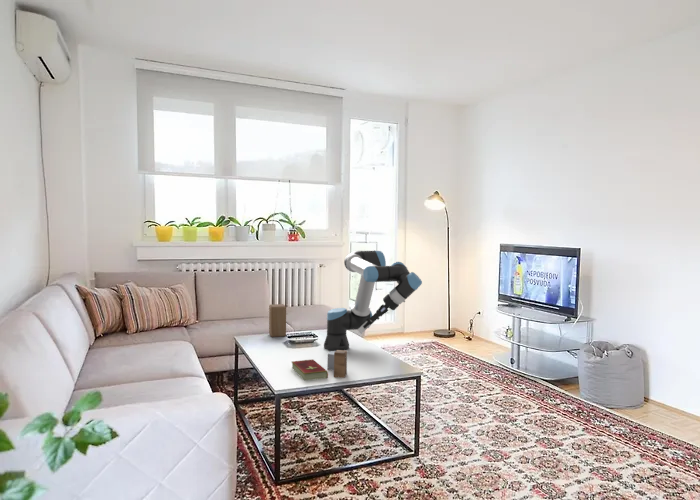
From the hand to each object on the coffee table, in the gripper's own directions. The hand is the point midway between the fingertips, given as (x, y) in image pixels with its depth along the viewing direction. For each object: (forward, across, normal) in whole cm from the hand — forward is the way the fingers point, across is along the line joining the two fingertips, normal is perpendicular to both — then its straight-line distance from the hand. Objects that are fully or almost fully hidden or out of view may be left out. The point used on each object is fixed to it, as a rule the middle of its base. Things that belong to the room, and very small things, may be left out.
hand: (362, 329), depth 230 cm
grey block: (+29, +12, -5) cm, 31 cm away
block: (+68, +70, +35) cm, 104 cm away
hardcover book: (+36, 0, +2) cm, 36 cm away
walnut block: (+25, 0, -9) cm, 26 cm away
